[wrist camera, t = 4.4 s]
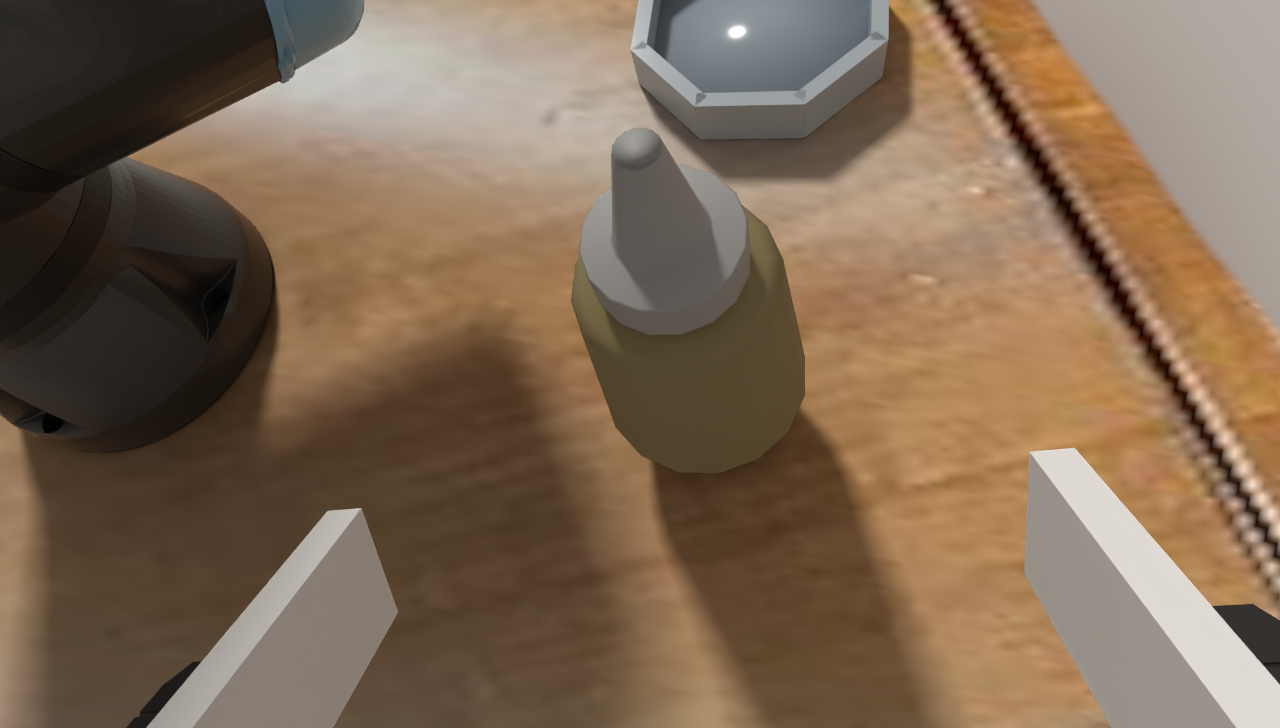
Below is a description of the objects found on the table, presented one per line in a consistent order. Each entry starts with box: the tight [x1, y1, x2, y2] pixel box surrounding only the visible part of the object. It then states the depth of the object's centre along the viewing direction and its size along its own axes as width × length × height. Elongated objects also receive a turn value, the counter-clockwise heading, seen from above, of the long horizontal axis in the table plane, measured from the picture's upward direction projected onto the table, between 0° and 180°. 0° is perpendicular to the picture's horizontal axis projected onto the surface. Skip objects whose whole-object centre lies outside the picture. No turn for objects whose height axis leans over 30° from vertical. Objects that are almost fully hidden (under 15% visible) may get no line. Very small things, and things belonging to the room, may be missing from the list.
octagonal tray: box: [630, 0, 889, 140], centre depth 39 cm, size 13×13×2 cm
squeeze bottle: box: [571, 128, 805, 473], centre depth 25 cm, size 8×8×18 cm
